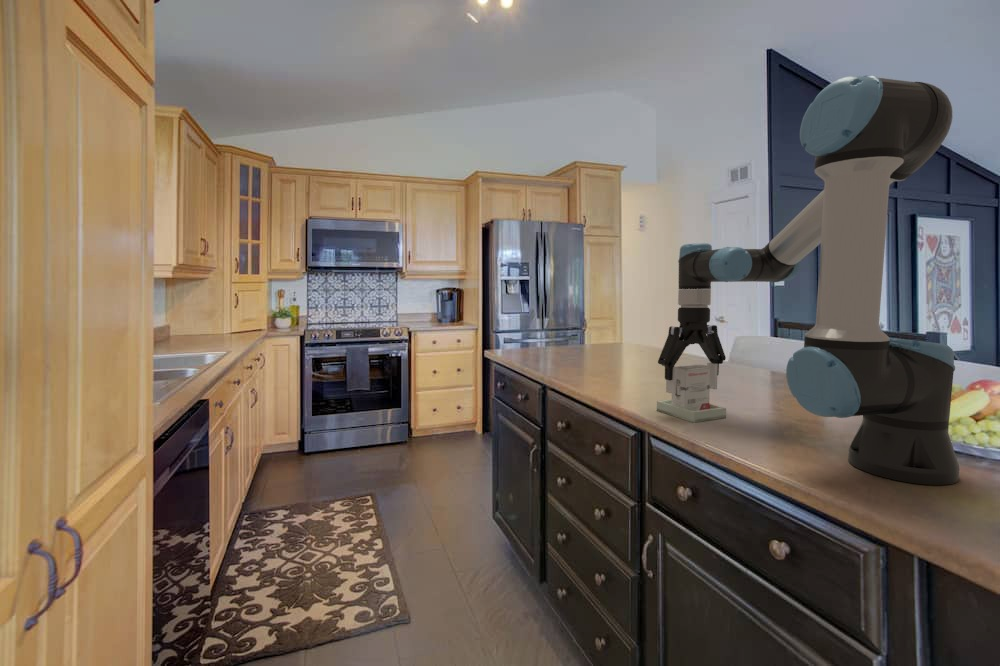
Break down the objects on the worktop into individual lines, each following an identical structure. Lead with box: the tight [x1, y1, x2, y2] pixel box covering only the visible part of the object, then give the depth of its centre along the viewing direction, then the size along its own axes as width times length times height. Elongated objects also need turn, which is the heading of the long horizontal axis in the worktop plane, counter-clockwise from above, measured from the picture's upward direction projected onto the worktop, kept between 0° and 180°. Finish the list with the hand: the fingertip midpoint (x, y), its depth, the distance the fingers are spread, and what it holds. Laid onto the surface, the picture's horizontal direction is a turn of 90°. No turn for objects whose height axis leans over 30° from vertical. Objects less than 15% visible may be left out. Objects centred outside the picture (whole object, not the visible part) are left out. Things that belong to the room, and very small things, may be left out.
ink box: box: [671, 363, 711, 411], centre depth 124 cm, size 9×5×12 cm, turn 116°
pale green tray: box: [656, 399, 727, 423], centre depth 125 cm, size 13×11×2 cm
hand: (691, 390), depth 124 cm, fingers open, 13 cm apart
